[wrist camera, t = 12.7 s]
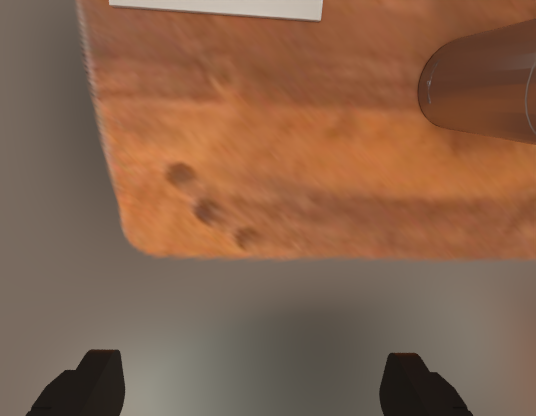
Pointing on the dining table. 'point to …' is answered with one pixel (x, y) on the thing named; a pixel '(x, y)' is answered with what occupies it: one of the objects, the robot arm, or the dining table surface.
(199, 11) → the board
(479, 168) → the dining table surface
